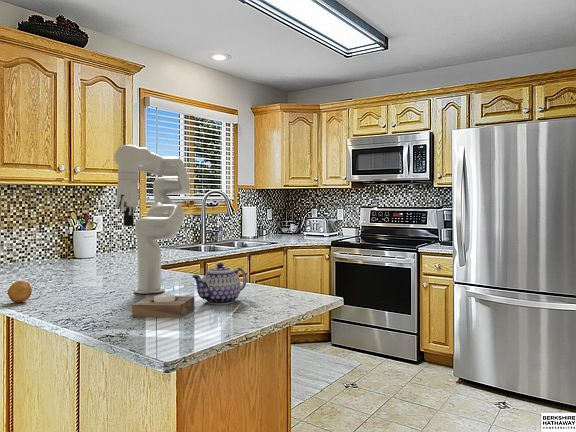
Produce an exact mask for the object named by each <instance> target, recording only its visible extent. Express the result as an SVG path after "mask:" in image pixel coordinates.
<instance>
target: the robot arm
mask: <svg viewBox="0 0 576 432" xmlns="http://www.w3.org/2000/svg"><path fill="white" fill-rule="evenodd" d="M114 161H115V163H116V165H117V188H116V204H115V205H116V207H117V208H120V211H122V216H123V226H124V227H133V226H134V231H135V236H136V244H137V287H136V288H134V289H133V292H134V293H135V294H158V293H162V292H165V291H166V289H165V287H164V286H162V283H163V279H162V250H161V246H160V245H159V244H158V242H157V240H160V241H161V240H172V239H174V238H175V237H177V235H178V232H179V231H180V229H181V226H182V225H183V222H184V219H185V212H184V209H183V207H182V206H181V204H176V203H174V202H173V201H172V200H171V198H170V197H169V195H186V194H188V193H189V192H190V188H191V184H190V178H189V175H188V172H187V170H186V166H185V164H184V162H183V160H182V159H181V158H180V157H178V156H161V155H158V154H157V153H154V152H152V151H151V150H150V149H149V148H146V147H138V146H136V145H134V144H122V145H120V146H118V148H117V149H116V151H115V153H114ZM140 172H144V173H149V174H153V175H156V176H160V177H157V178H155V179H154V181H153V184H152V193H153V199H154V201H153V203H152V205H151V206H150V208H149V209H148V211H147V213H146V216H144V217H140V218H138V219H137V220H136V222H135V223H134V219H135V218H134V216H135V211H136V210H137V207H138V206H139V205H140V203H139V202H140V201H139V200H140V199H139V198H140V196H139V195H140V194H139V184H138V183H139V182H140Z"/></svg>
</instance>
